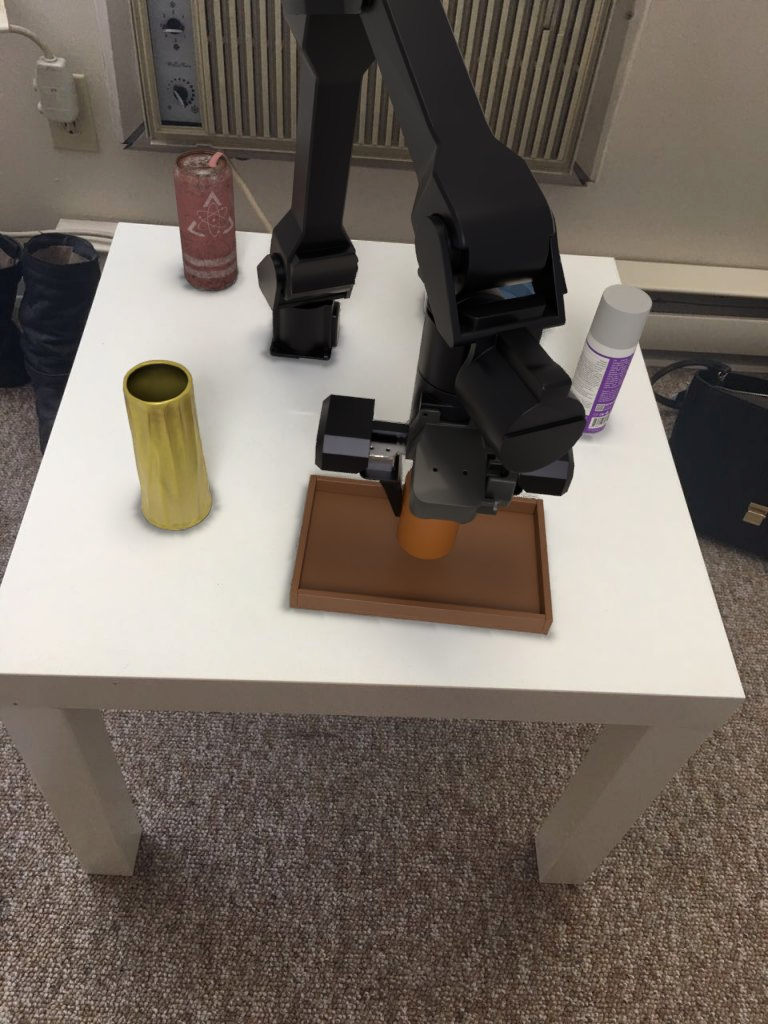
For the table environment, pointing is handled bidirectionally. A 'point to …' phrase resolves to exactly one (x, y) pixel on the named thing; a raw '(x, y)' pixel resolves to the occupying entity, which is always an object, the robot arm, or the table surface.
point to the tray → (420, 563)
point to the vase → (167, 444)
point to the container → (609, 351)
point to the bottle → (424, 531)
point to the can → (206, 219)
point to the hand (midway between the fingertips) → (429, 516)
